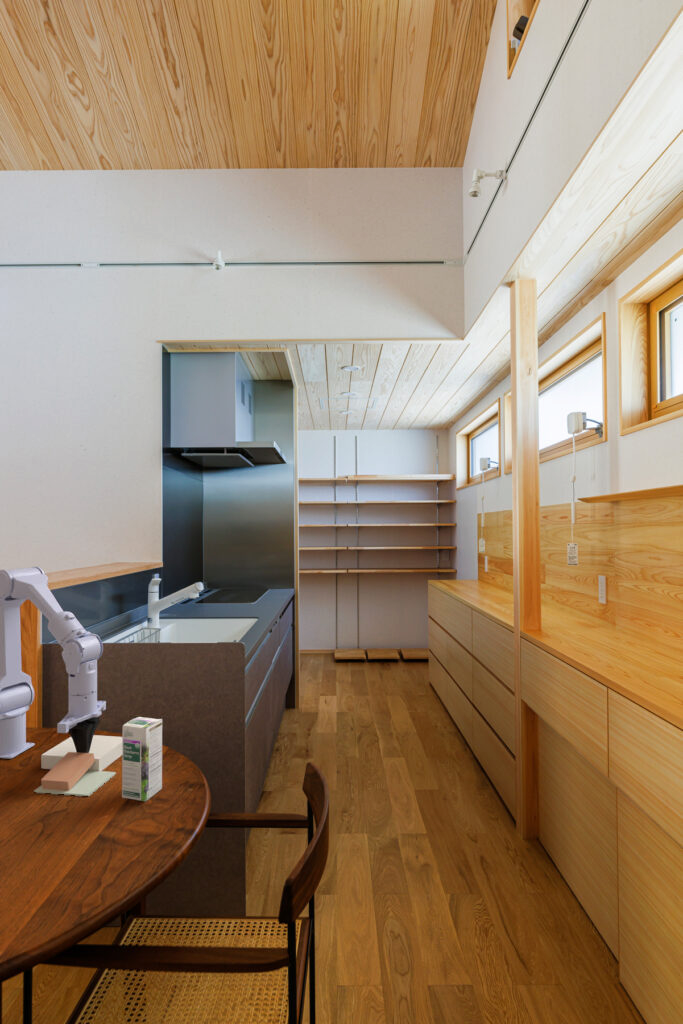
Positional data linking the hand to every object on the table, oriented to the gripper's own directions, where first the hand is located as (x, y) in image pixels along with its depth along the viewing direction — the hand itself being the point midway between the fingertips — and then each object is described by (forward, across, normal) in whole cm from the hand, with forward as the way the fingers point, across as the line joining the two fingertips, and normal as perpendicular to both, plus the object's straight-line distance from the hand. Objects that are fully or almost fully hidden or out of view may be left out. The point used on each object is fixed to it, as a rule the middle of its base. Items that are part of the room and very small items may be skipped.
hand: (83, 753), depth 123 cm
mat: (+4, -5, -2) cm, 7 cm away
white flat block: (+4, +6, +3) cm, 8 cm away
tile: (+2, -5, 0) cm, 5 cm away
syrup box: (+4, -7, -18) cm, 20 cm away
